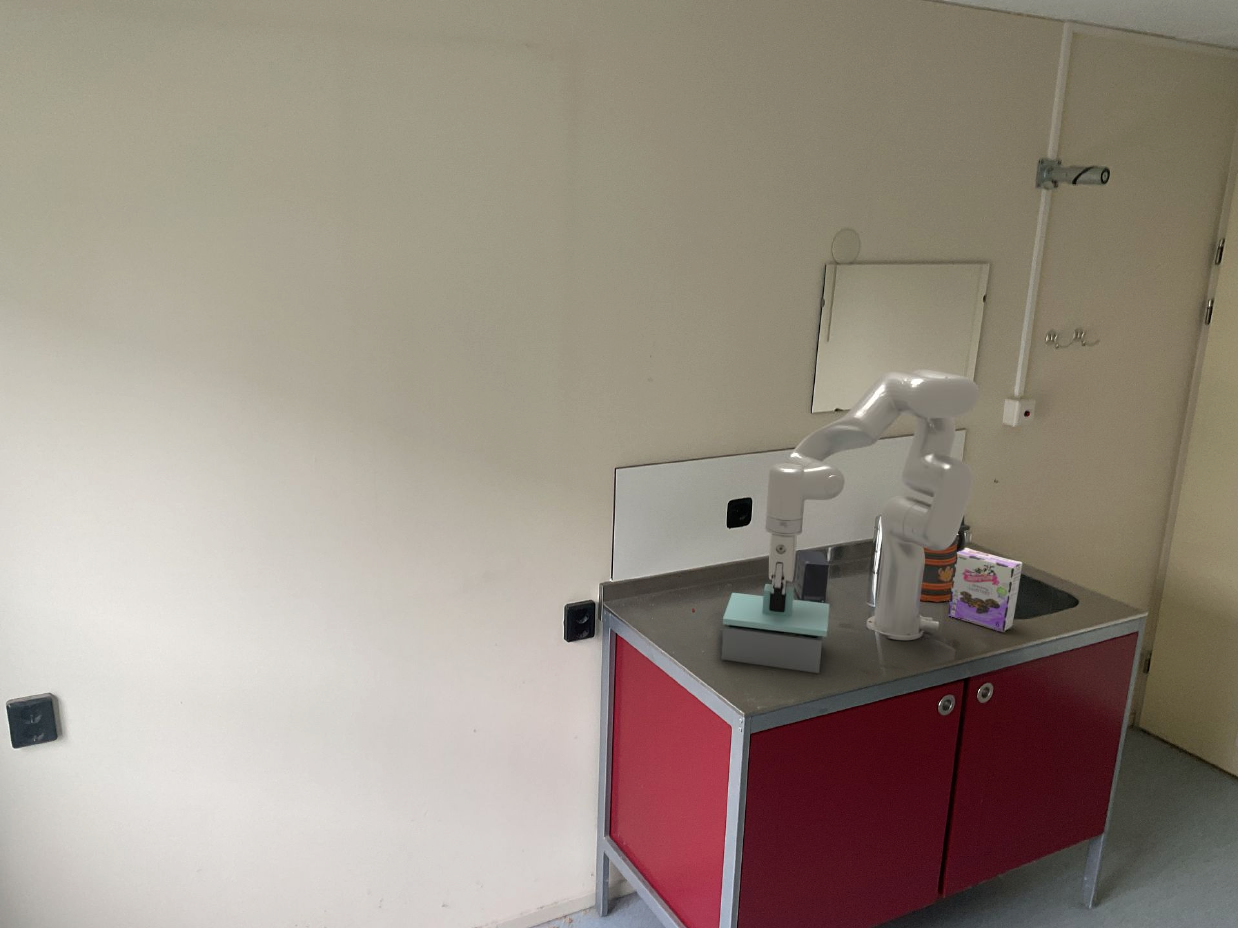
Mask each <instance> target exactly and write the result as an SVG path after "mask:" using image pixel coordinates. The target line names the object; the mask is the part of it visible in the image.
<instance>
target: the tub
mask: <svg viewBox="0 0 1238 928" xmlns="http://www.w3.org/2000/svg"><path fill="white" fill-rule="evenodd" d="M758 630H762V631H758ZM785 633H792V632H785ZM792 634H800V633H792ZM800 635H803V637H802V636H795V635H787V634H784V631H776V630H768V629H759V628H751V627H743V626H735V625H727V624H723V631H722V643H721V644H722V645H721V657H720V659H721V660H724V661H730V662H738V663H745V664H751V665H758V666H766V667H772V668H777V669H778V668H779V669H784V670H785V669H787V670H793V671H800V672H806V673H807V672H808V673H814V674H819V673H820V668H821V667H820V666H821V658H822V646H823V645H822V644H823V637H824V636H816V635H808V634H800Z"/></svg>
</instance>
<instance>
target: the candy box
mask: <svg viewBox="0 0 1238 928" xmlns="http://www.w3.org/2000/svg"><path fill="white" fill-rule="evenodd" d="M1022 569H1023V562H1022V561H1020V560H1019V561H1018V560H1013V559H1011V558H1010V559H1009V558H1005V557H1003V556H1002V557H1001V556H997V555H993V554H990V553H987V552H986V553H985V552H983V551H980V550H975V549H971V548H969V547H964V549H963V550H961V551H959V552H957V554H956V561H955V568H954V575H953V582H952V589H951V597H950V600H949V606H948V612H947V616H948V617H949V616H951V617H950V618H952V617H955V618H960V619H965V620H968V621H974V622H977V623H980V624H983V625H987V626H989V627H993V628H994V629H998V630H1003V631H1004V630H1006V629H1008V628H1009V627H1011V626H1012V625H1013V626H1014V617H1015V612H1016V605H1017V599H1018V594H1019V588H1020V581H1021V580H1020V579H1021V575H1022ZM955 618H954V619H955Z"/></svg>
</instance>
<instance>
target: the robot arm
mask: <svg viewBox="0 0 1238 928" xmlns="http://www.w3.org/2000/svg"><path fill="white" fill-rule="evenodd" d="M979 397H980V392H979V387H978V384H976V383H975V381H974V380H973V379H971V378H969V377H967V376H963V375H958V374H953V373H947V372H943V371H938V370H934V369H933V370H932V369H922V368H921V369H915V370H914V371H912V372H910V373H905V372H899V371H890V372H886V373H884V374H882V375H881V376H880V377H878V379H876V381H874V383H873V384H872V385H871V386H870V387H869V388H868V389H867V391H866V392H865V393H864V394H863V396H861V398H860V399H859V400H858V401H857V402H856V403H855V404H854V406H852V408H851V409H850V410H849V411H848V412H847V413H846V414H845V415H844V416H843V417H841V418H839V419H837V420H835V421H832V422H830V423H828V424H827V425H825V426H823V427H820V428H818V429H816V430H814V431H813V432H811V433H810V434H809V435H807V436H806V437H804V438H803V439H802V440H801V441H800V442H799V443H798V444H797V446H796V447H795V448H794V449H793V450H792V451H791V452H790V454H789V455H788V456H787V458H786V459H785V461H784V463H783V462H782V463H781V462H780V463H776V464H773V465H772V466H771V467H770V469H769V473H768V483H767V498H766V499H767V501H766V514H765V527H764V530H765V531H766V533H769V534H770V537H769V551H768V552H769V558H768V578H769V580H771V581H772V582H771V584H772V590H771V592H770V604H769V610H770V611H775V612H784V611H785V601H786V594H785V586H788V583H792V582H793V580H794V577H795V573H796V557H797V556H796V555H797V543H798V541H797V540H798V536H799V535H801V534H802V533H803V524H804V511H805V502H806V501H807V500H810V501H811V500H812V501H828V500H831V499H835V498H837V497H838V496H839V495H840V494H841V492H842V491H843V490H844V487H845V476H844V474H843V473H842V471H841V470H840V469H839V468H838V467H837V466H834V465H832V464H830V463H827V462H825V459H827V458H829V457H830V456H833V455H835V454H837V453H839V452H840V453H841V452H843V451H849V450H857V449H858V450H859V449H862V448H867V447H869V446H870V447H871V446H873V445H875V444H876V443H877V442H878V441H879V439H880V438H881V437H883V435H884V434H885V433H886V431H887V430H888V429H889V428H890V427H891V426H892V425H893V424H894V422H895V421H897V419H898V418H899V417H900V416H902V415H905V416H908V417H912V418H915V422H916V423H915V424H916V425H915V430H914V434H913V438H912V441H911V443H910V447H909V450H908V453H907V456H906V459H905V462H904V465H903V469H902V472H901V473H902V474H901V480H902V481H901V482H902V483H903V484H904V486H905V487H906V488H907V489H910V490H912V491H913V492H915V493H919V494H922V495H924V496H927V497H930V498H932V502H931V503H930V502H929V501H928V502H927V501H925V500H923V499H920V498H917V497H913V496H909V495H903V494H902V495H896V496H892V497H890V499H888V500H887V501H886V502H885V503H884V505H883V507H882V511H881V514H880V524H881V525H880V527H881V537H882V538H881V541H882V542H881V545H882V546H881V555H880V556H881V558H880V565H879V566H880V567H879V573H878V583H877V593H876V599H875V600H876V601H875V608H874V615H873V616H871V617H869V618H868V619H867V620H866V628H867V629H868V630H872V631H875V632H877V633H880V634H882V635H886V638H887V639H891V640H896V641H912V640H913V641H914V640H917V639H920V638H921V637H922V636H923V635H924V629H925V628H926V629H929V630H939V627H940V622H939V620H933V617H929V616H927V617H926V616H923V615H921V613H920V602H921V600H920V596H921V588H922V580H923V572H924V565H925V554H924V549H923V547H924V548H927V549H930V550H933V551H942V550H945V549H947V548H948V547H949V546H950V545H951V544H952V543H953V541H954V540H955V538H956V536H957V537H958V531H959V528H960V525H961V522H962V519H963V516H964V517H965V513H966V510H967V507H968V504H969V502H970V498H971V495H972V491H973V487H974V475H973V471H972V470H971V469H972V468H971V467H970V466H969V465H968V464H967V463H966V462H964V461H963V460H960V459H957V458H954V457H951V452H952V448H953V445H954V441H955V438H956V424H955V420H954V418H959V417H964V416H966V415H968V414H970V413H971V412H972V411H973V410H974V409H975V408H976V406H977V404H978V402H979V399H980V398H979ZM956 539H957V538H956Z"/></svg>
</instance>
